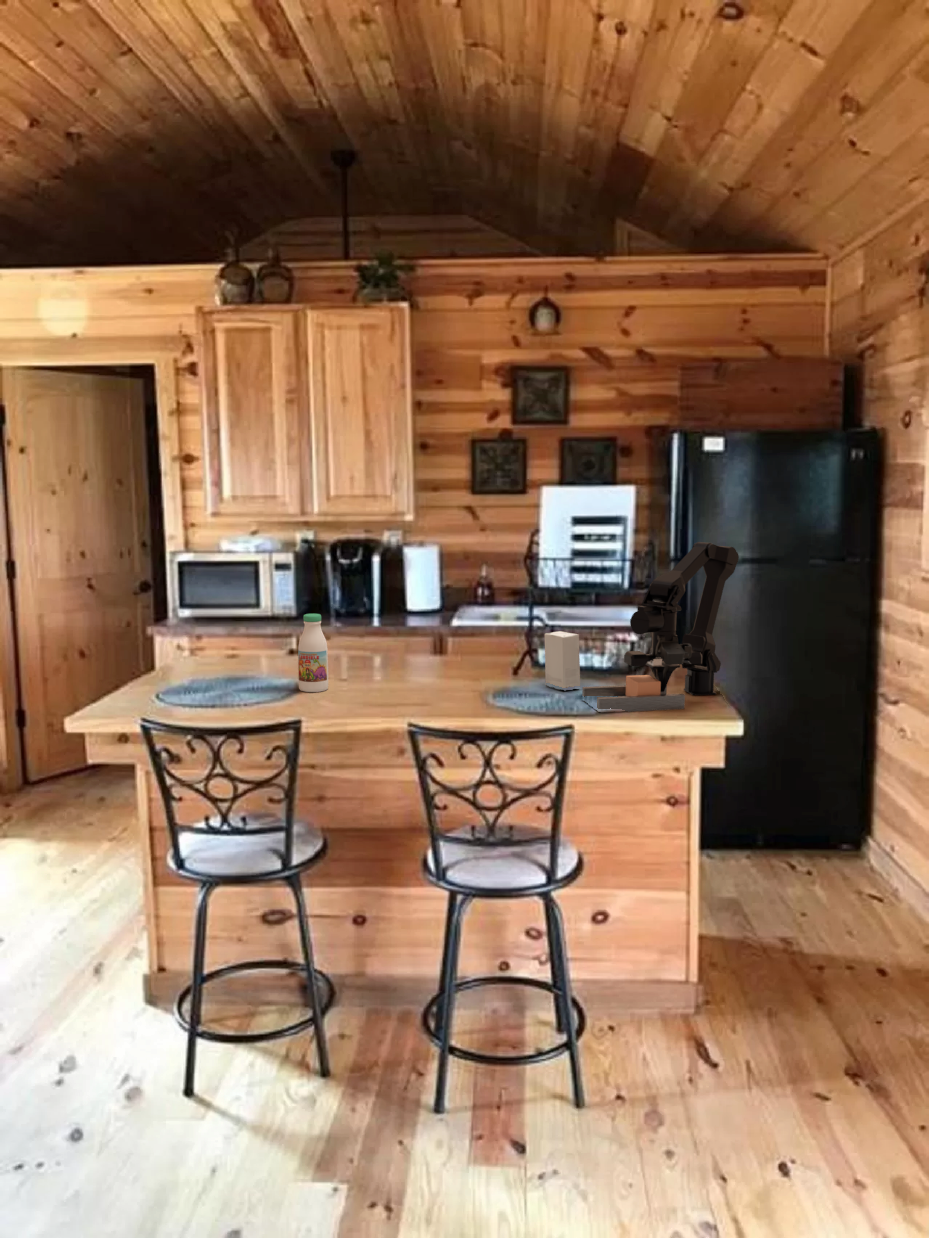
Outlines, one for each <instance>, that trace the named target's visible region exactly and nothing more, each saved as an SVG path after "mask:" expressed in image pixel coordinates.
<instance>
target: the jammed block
mask: <svg viewBox="0 0 929 1238" xmlns="http://www.w3.org/2000/svg"><path fill="white" fill-rule="evenodd" d="M625 685H626V696H640V695H660V689H661V682H660V681H658V680H657V679H655V677H653V676H651V675H650V674H643V675H642V674H640V675H639V674H638V675H625Z"/></svg>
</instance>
